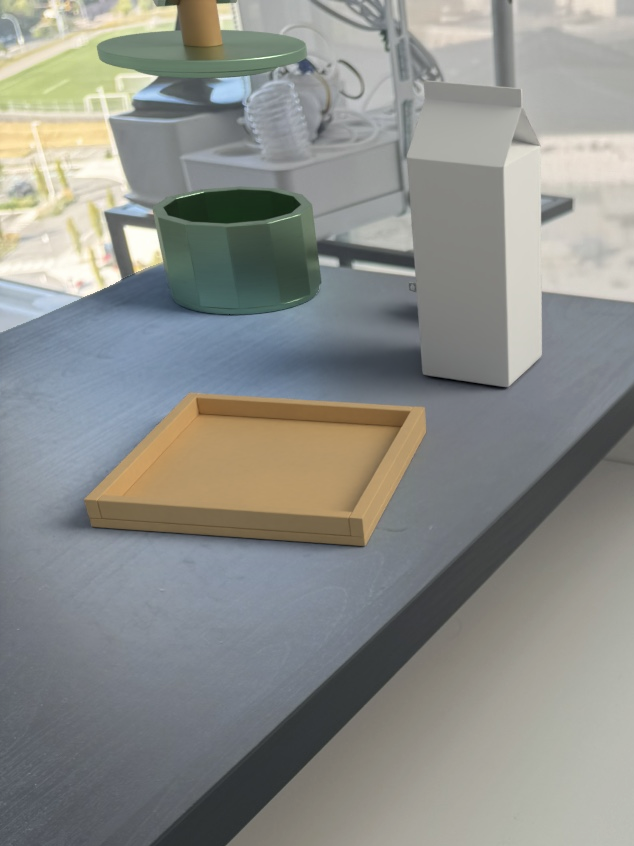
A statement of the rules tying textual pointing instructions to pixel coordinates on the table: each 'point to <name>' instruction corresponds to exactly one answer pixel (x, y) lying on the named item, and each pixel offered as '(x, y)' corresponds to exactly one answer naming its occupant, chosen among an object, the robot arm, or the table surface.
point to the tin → (238, 249)
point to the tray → (263, 470)
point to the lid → (201, 48)
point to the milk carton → (476, 233)
